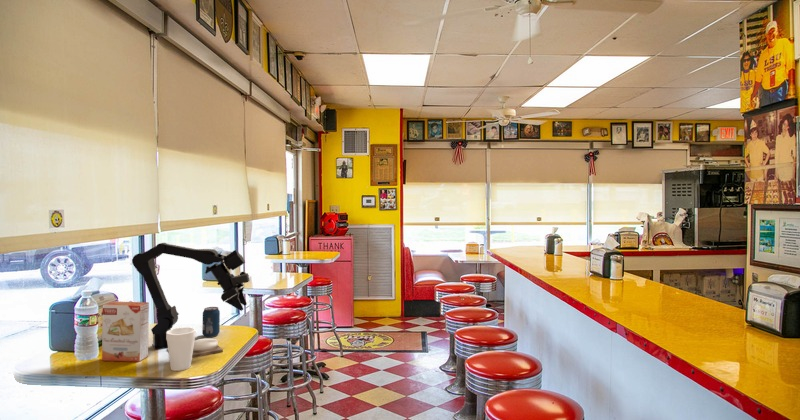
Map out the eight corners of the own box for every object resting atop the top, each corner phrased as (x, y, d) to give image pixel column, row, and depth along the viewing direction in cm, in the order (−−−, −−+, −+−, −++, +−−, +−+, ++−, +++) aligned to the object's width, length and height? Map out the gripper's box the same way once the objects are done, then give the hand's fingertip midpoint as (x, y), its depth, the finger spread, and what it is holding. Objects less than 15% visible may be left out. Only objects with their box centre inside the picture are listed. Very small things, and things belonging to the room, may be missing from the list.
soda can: (216, 332, 200) (216, 305, 199) (221, 335, 194) (222, 308, 194) (200, 335, 195) (200, 307, 195) (205, 338, 190) (205, 310, 190)
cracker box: (100, 361, 161) (101, 304, 161) (111, 356, 167) (112, 300, 167) (139, 362, 161) (139, 305, 160) (148, 356, 167) (149, 301, 166)
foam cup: (167, 364, 159) (167, 328, 159) (195, 361, 163) (196, 326, 163) (164, 374, 150) (165, 335, 150) (194, 370, 154) (195, 333, 154)
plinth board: (178, 360, 163) (178, 352, 163) (168, 349, 176) (168, 341, 176) (222, 351, 174) (222, 344, 174) (210, 341, 186) (210, 334, 186)
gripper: (236, 269, 175) (258, 301, 177) (244, 262, 193) (263, 292, 195) (211, 284, 173) (233, 317, 175) (221, 276, 192) (241, 306, 193)
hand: (244, 307), depth 185 cm, fingers open, 9 cm apart
